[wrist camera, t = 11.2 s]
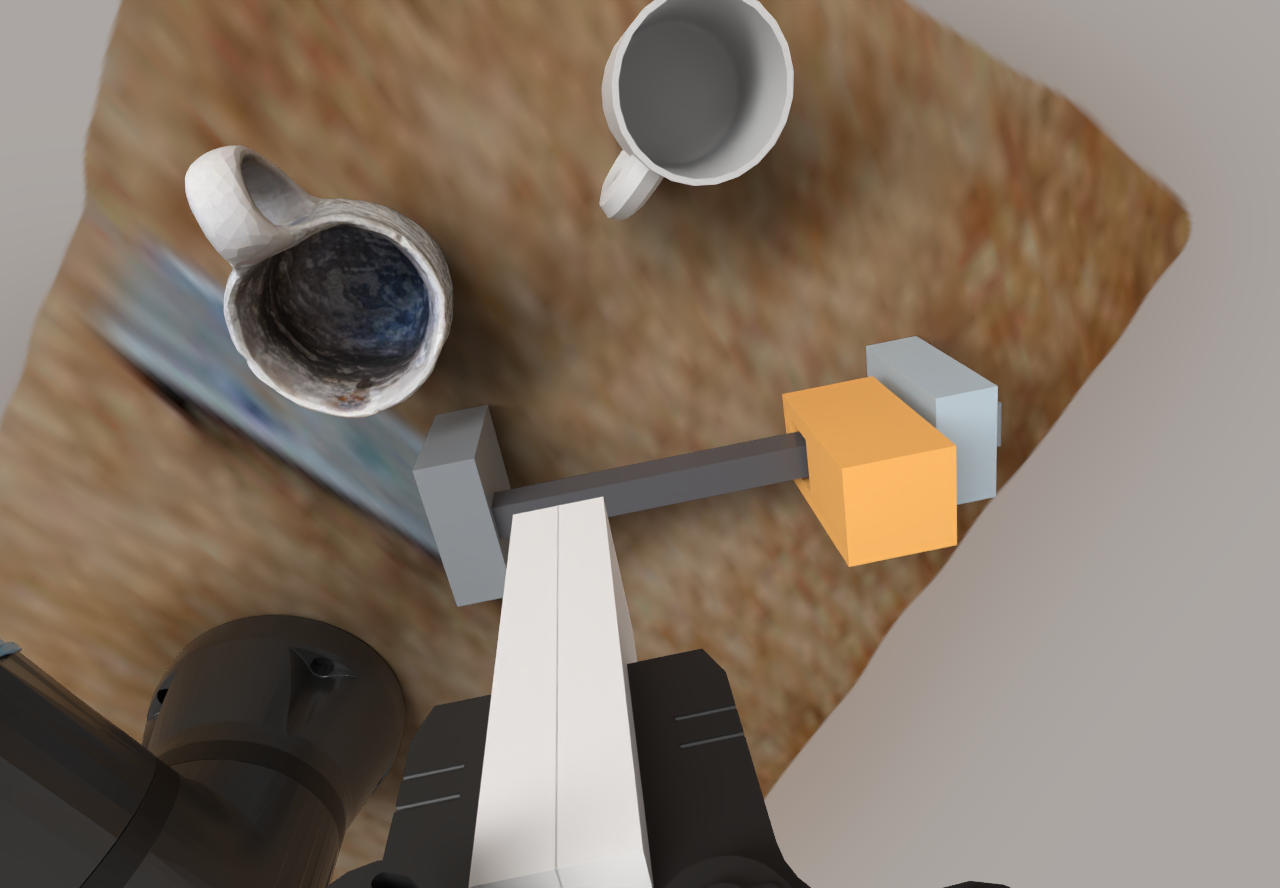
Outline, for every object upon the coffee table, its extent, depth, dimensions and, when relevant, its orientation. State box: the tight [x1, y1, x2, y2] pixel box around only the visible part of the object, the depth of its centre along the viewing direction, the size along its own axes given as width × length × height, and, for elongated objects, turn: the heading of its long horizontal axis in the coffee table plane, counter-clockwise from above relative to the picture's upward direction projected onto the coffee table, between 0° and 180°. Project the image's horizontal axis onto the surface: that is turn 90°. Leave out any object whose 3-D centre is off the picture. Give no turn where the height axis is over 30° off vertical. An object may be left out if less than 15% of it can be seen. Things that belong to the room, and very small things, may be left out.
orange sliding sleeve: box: [782, 376, 957, 567], centre depth 38 cm, size 5×5×10 cm
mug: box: [185, 146, 453, 418], centre depth 35 cm, size 10×12×10 cm
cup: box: [599, 0, 794, 221], centre depth 34 cm, size 7×10×9 cm
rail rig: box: [412, 336, 1002, 607], centre depth 41 cm, size 29×8×9 cm, turn 100°
